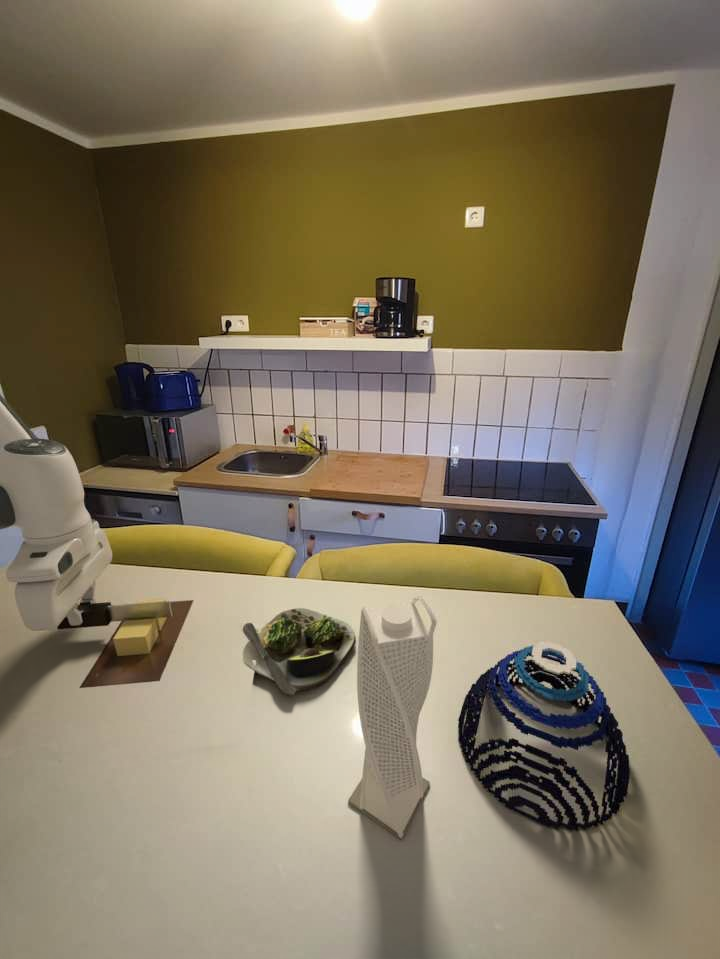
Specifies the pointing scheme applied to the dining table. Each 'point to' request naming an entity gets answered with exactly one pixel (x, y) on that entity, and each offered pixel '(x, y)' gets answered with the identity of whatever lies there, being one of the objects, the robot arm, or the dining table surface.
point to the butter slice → (158, 620)
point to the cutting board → (139, 655)
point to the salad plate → (299, 648)
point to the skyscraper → (392, 711)
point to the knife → (118, 613)
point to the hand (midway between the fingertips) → (83, 615)
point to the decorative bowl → (545, 735)
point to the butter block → (136, 637)
